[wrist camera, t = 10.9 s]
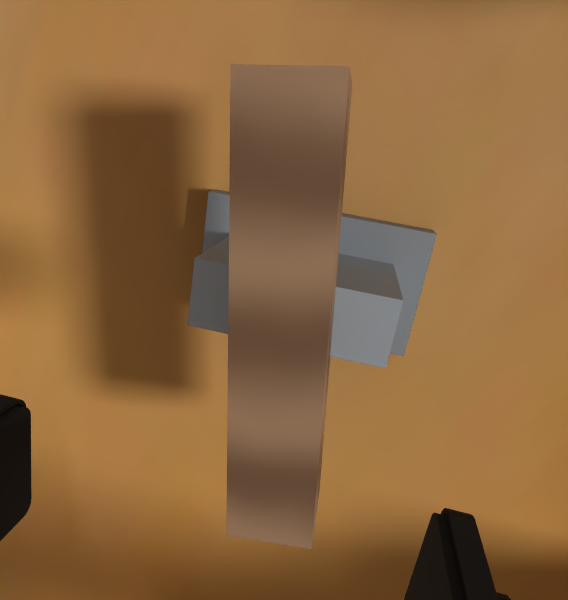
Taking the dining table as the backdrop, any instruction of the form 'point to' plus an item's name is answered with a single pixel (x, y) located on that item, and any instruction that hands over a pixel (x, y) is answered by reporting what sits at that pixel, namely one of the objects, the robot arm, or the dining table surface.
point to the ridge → (349, 283)
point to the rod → (282, 290)
